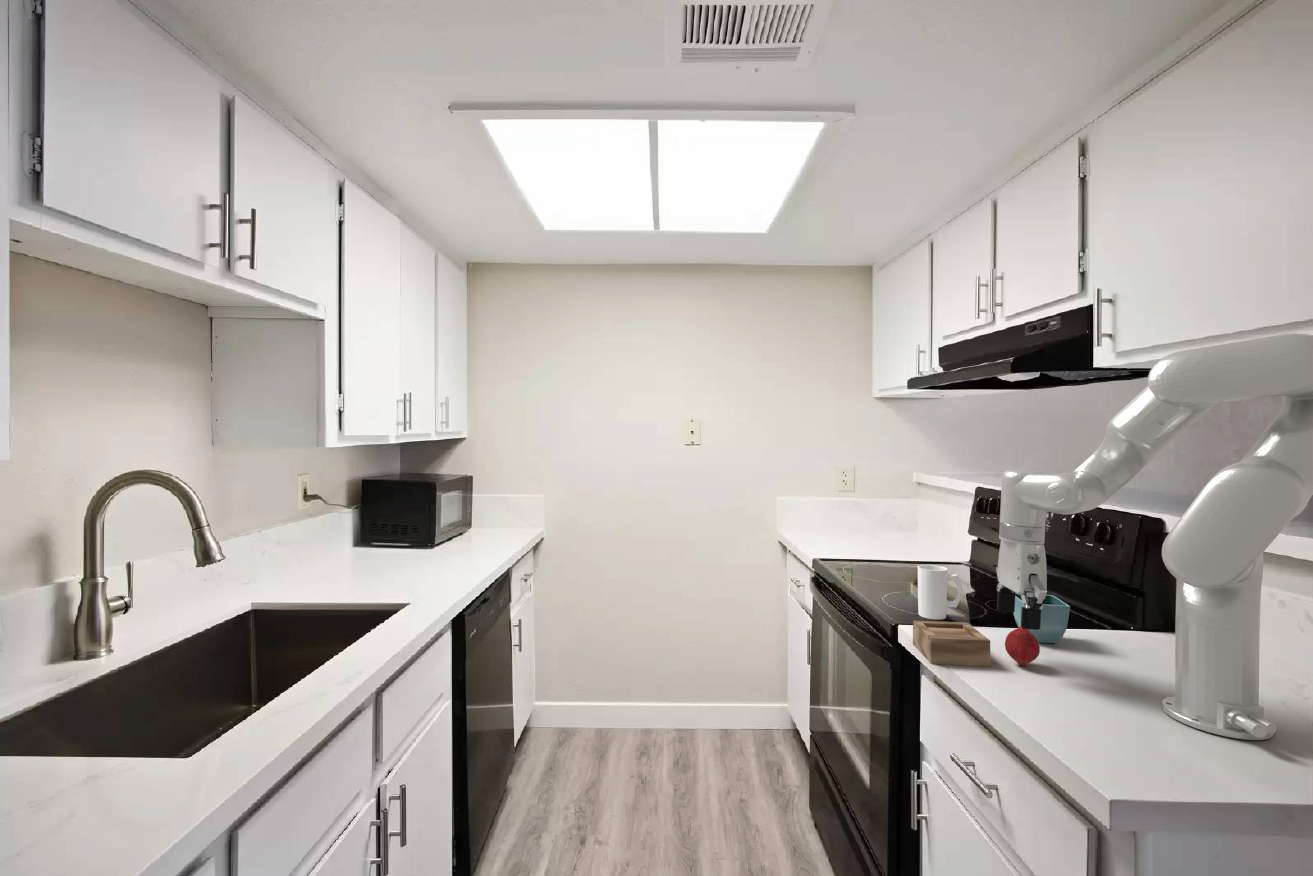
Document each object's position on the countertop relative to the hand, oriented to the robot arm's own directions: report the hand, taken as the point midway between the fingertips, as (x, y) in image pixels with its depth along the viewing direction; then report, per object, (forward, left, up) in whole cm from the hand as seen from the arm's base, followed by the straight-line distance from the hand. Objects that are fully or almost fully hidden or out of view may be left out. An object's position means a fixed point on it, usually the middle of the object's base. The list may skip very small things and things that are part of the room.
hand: (1017, 620), depth 115 cm
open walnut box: (+3, +11, -9) cm, 15 cm away
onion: (-1, -1, -9) cm, 9 cm away
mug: (+29, +4, -9) cm, 31 cm away
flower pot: (+15, -12, -9) cm, 21 cm away
